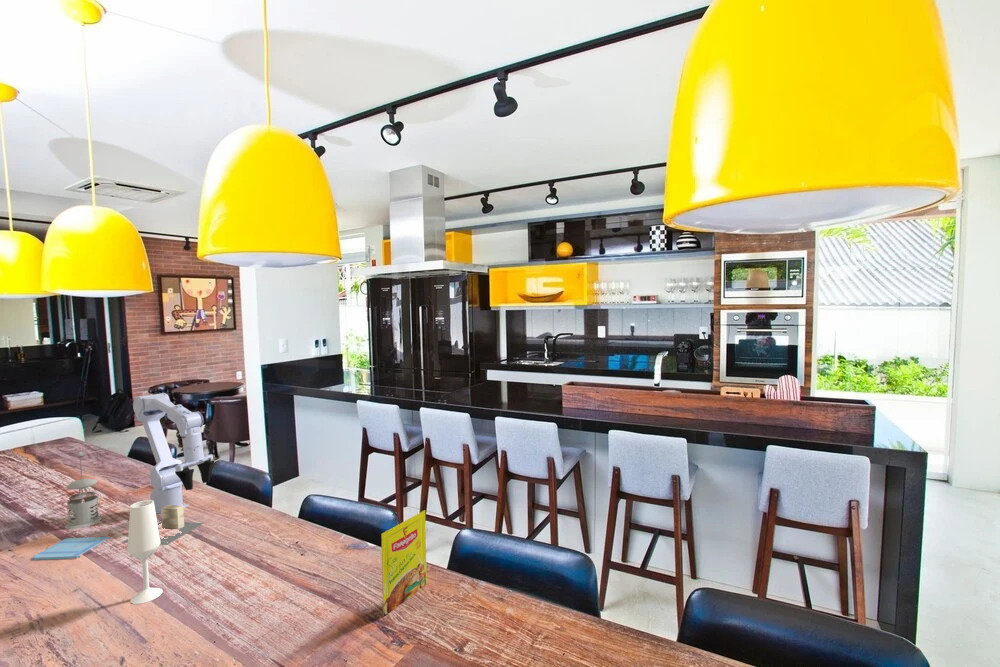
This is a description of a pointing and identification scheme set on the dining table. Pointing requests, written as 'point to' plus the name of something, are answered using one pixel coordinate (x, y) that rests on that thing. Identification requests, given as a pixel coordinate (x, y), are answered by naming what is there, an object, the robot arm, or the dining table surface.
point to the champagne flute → (143, 544)
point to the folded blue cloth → (69, 548)
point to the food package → (403, 561)
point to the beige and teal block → (172, 517)
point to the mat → (187, 528)
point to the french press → (82, 504)
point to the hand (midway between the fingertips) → (197, 486)
